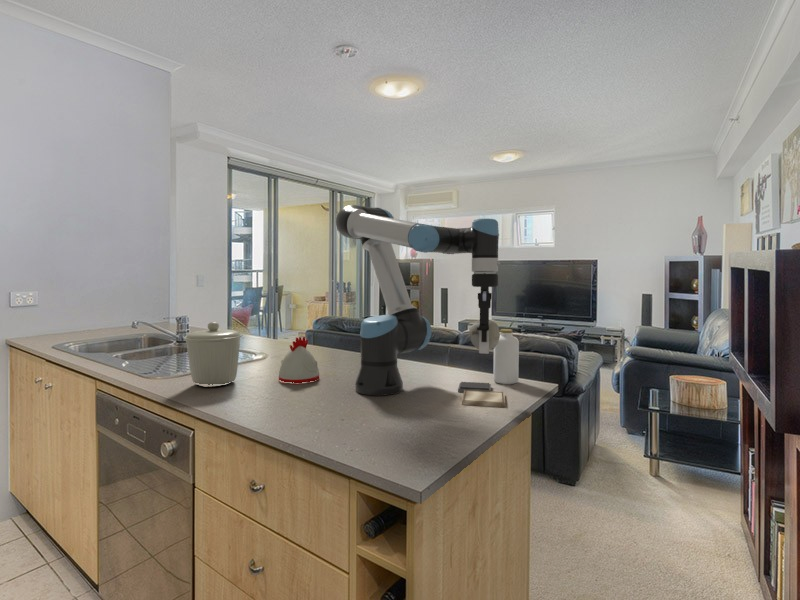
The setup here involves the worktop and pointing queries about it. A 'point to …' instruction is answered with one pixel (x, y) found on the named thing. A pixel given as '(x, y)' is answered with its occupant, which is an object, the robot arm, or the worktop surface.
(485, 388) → the ink pad
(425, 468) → the worktop surface
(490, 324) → the decorative object
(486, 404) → the board
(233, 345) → the canister
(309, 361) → the grey knit hat
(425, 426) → the worktop surface
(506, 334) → the potion bottle
